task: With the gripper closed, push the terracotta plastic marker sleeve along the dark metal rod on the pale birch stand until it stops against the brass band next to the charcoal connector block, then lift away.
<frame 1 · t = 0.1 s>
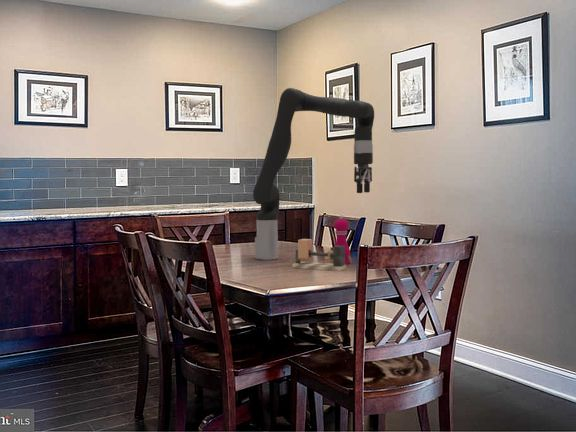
hand: (363, 192, 228), 29 cm above the table, fingers open, 8 cm apart
marker sleeve: (305, 249, 225), point 7 cm above the table, slide at 0.0 cm
cord stand: (319, 268, 223), on the table
pepper mill: (341, 263, 234), on the table
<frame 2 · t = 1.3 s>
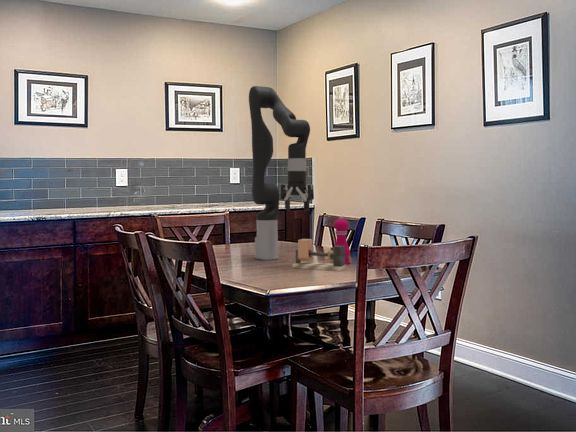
hand: (296, 210, 228), 22 cm above the table, fingers open, 8 cm apart
nothing on the table moved.
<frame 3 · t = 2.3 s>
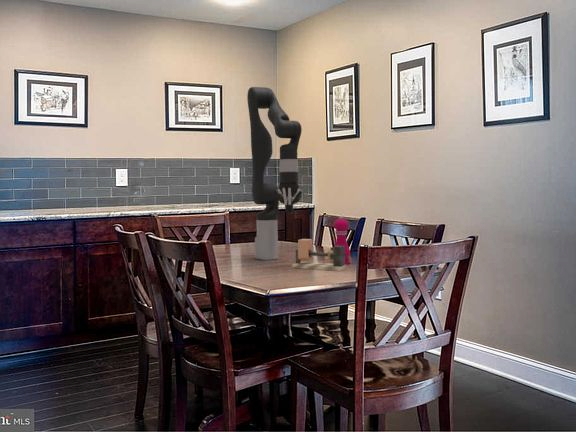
hand: (289, 214, 227), 21 cm above the table, fingers closed
nothing on the table moved.
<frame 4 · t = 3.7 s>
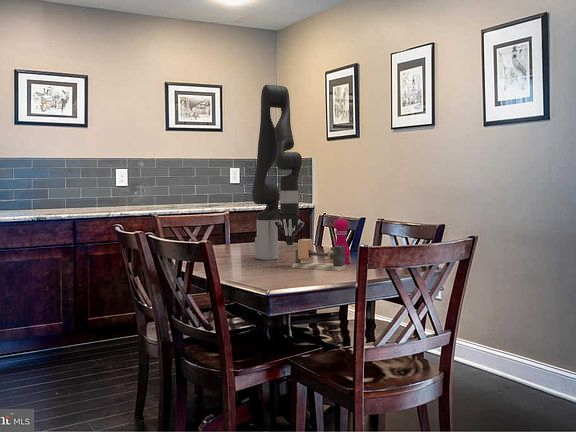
hand: (289, 245, 228), 9 cm above the table, fingers closed
nothing on the table moved.
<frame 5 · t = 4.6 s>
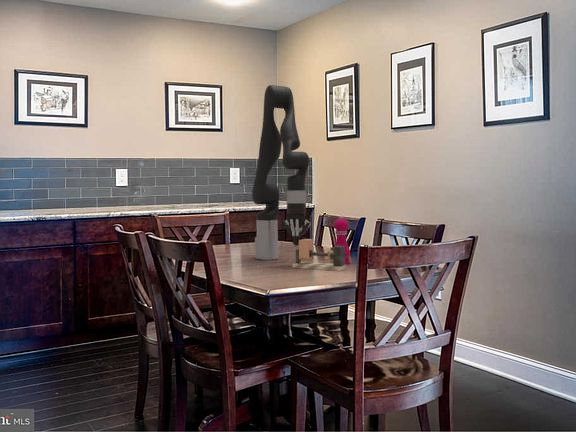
hand: (296, 245, 226), 9 cm above the table, fingers closed
marker sleeve: (306, 249, 225), point 7 cm above the table, slide at 0.4 cm, touching gripper
everything else where it was.
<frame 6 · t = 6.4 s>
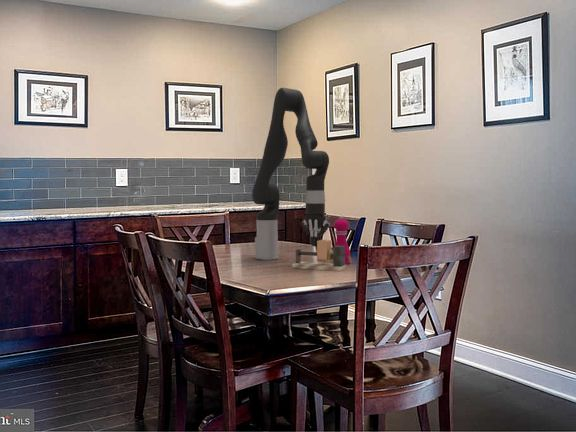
hand: (314, 246, 223), 9 cm above the table, fingers closed
marker sleeve: (324, 250, 221), point 7 cm above the table, slide at 8.3 cm, touching gripper
everything else where it was.
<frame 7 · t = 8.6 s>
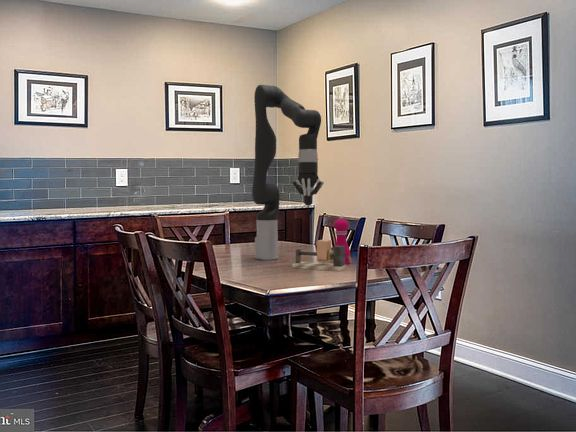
hand: (308, 205, 223), 25 cm above the table, fingers closed
marker sleeve: (324, 250, 221), point 7 cm above the table, slide at 8.2 cm
everything else where it was.
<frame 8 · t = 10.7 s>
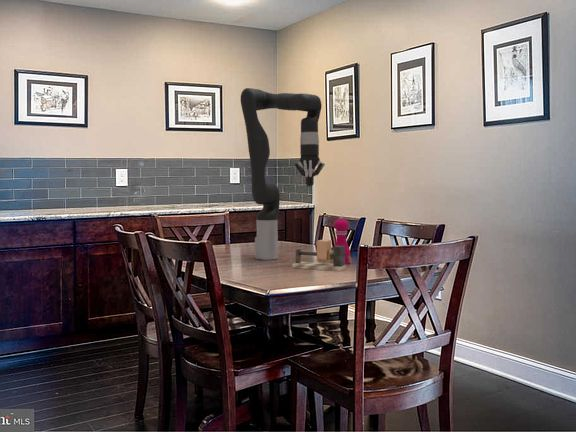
hand: (309, 186, 232), 32 cm above the table, fingers closed
nothing on the table moved.
at the end: marker sleeve slide at 8.2 cm; pepper mill moved 0.2 cm from its start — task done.
